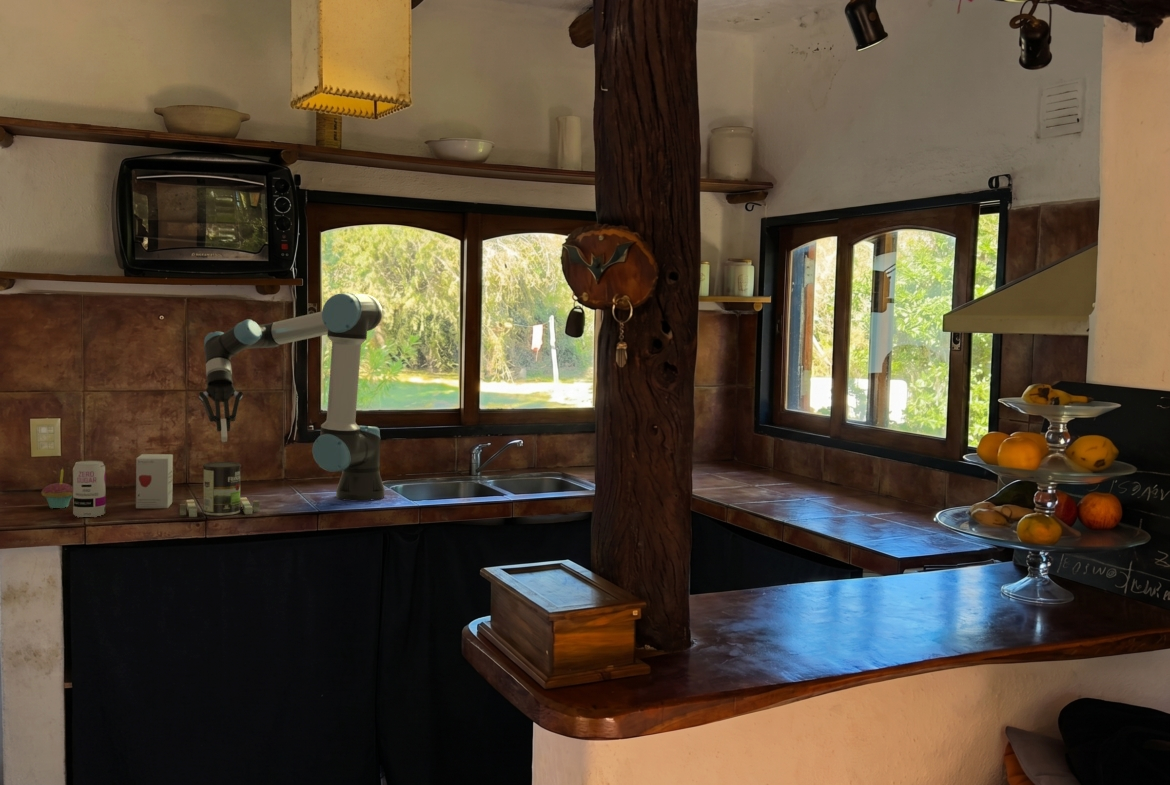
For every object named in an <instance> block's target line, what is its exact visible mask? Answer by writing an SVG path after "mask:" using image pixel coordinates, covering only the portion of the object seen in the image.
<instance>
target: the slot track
mask: <svg viewBox="0 0 1170 785" xmlns="http://www.w3.org/2000/svg"><path fill="white" fill-rule="evenodd" d="M195 502H196V501H195V500H194V499H186V502H185V503H179V516H187V513H188V518H197V517H198V508H197V506H196V503H195ZM240 505H241V506H240V508H241V507H242V508H241V510H242V509H243V510H242V511H243V513H244V514H245V515H253V512H254V513H257V512H260V500H253V501H252V504H251V503H250V501H249V499H248V498H247V497H246V496H245V497H243V496H242V497H240Z"/></svg>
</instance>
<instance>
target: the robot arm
mask: <svg viewBox="0 0 1170 785" xmlns="http://www.w3.org/2000/svg"><path fill="white" fill-rule="evenodd" d="M382 317H383V308H382V306H381V304H380V302H379V301H378V299H376V298H375V297H374V296H372V295H370V294H365V293H351V292H350V293H349V292H343V293H337V294H334V295H332V296H331V297H329V298H328V299H327V300H326V301H325V303H324V305H323V307H322V311H318V312H314V313H309V314H305V315H300V316H297V317H292V318H287V319H282V320H278V321H274V322H268V323H265V324H258V323H257V322H256V321H254V320H252V319H250V318H249V319H248V318H247V319H245V320H243V321H241V322H238V323H236V325H234V326H232V327H231V328H230V329H228V330H227V331H225V332H223V331H219V330H218V331H217V330H216V331H214V332H209V333H208V334H206V335H205V337H204V342H203V343H204V344H203V345H204V346H203V351H204V360H205V372H206V385H207V387H206V389H205V391H204V392H202V391H201V392H199V395H198V399H199V400H200V402H202V404H203V407H204V410H205V413H206V415H207V417H208V421H209V422H211V423H213V422H215V424H216V425H215V426H216V431H217V432H220V437H221V438H220V439H221V442H222V443H226V442H228V432H230V431H231V422H235V421H236V418H237V414H238V411H239V410H238V408H239V404H240V402H241V400H242V399H243V394H244V393H243V391H237V390H236V389H235V387H234V382H233V375H232V374H233V370H232V362H231V360H232V359H231V358H233V357H234V356H235V355H237V354H239V353H241V352H243V350H246V349H264V348H265V349H271V348H272V349H273V348H276V347H279V346H281V345H284V344H289V343H293V342H299V341H302V340H303V341H304V340H307V339H312V338H316V337H317V338H318V337H323V336H327V338H328V339H329V340H330V342H331V352H330V353H331V354H330V367H329V368H330V370H329V379H328V380H329V384H328V397H327V412H326V420H325V421H324V422H323V423H322V424H320V433H319V434H320V435H319V436H318V437H317V438H316V439H314V440H315V441H314V442H313V444H312V450H311V452H312V456H313V459H314V461H315V463H316V464H317V465H318V467H319V468H321V469H323V470H325V471H326V472H330V473H331V472H332V473H334V472H335V473H336V472H341V476H340V479H339V481H338V484H337V487H336V490H335V491H336V492H335V493H336V494H335V495H336V496H335V497H336V498H337V499H339V498H340V499H339V500H343V499H345V500H344V501H351V500H368V501H372V500H371V499H377V500H380V499H379V498H381V499H383V498H382V497H384V496H385V495H386V493H385V492H386V491H385V487H384V483H383V480H382V477H381V474H380V460H381V459H380V458H381V457H380V456H381V454H380V453H381V432H380V431H381V430H380V428H379V427H378V426H369V425H368V426H367V425H358V424H357V422H356V419H357V418H356V416H357V404H358V403H357V402H358V392H359V391H358V390H359V389H358V388H359V377H360V376H359V374H360V363H361V351H362V350H361V349H362V344H363V343H364V342H366V341H367V339H368V338H367V337H368V332H369V331H372V330H374V329H375V328H377V327H378V326H379V325H380V322H381V320H382ZM208 397H209V398H210V399H211V400H212V401H213V402H214V411H215V413H214V411H213V408H212V406H211V403H210V400H209V399H208ZM232 397H234V403H233V408H232V411H231V412H232V413H231V414H230V404H229V401H230V400H231V398H232ZM220 403H223V413H224V414H223V415H224V418H221V416H222V415H221V406H220ZM384 498H385V497H384Z"/></svg>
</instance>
